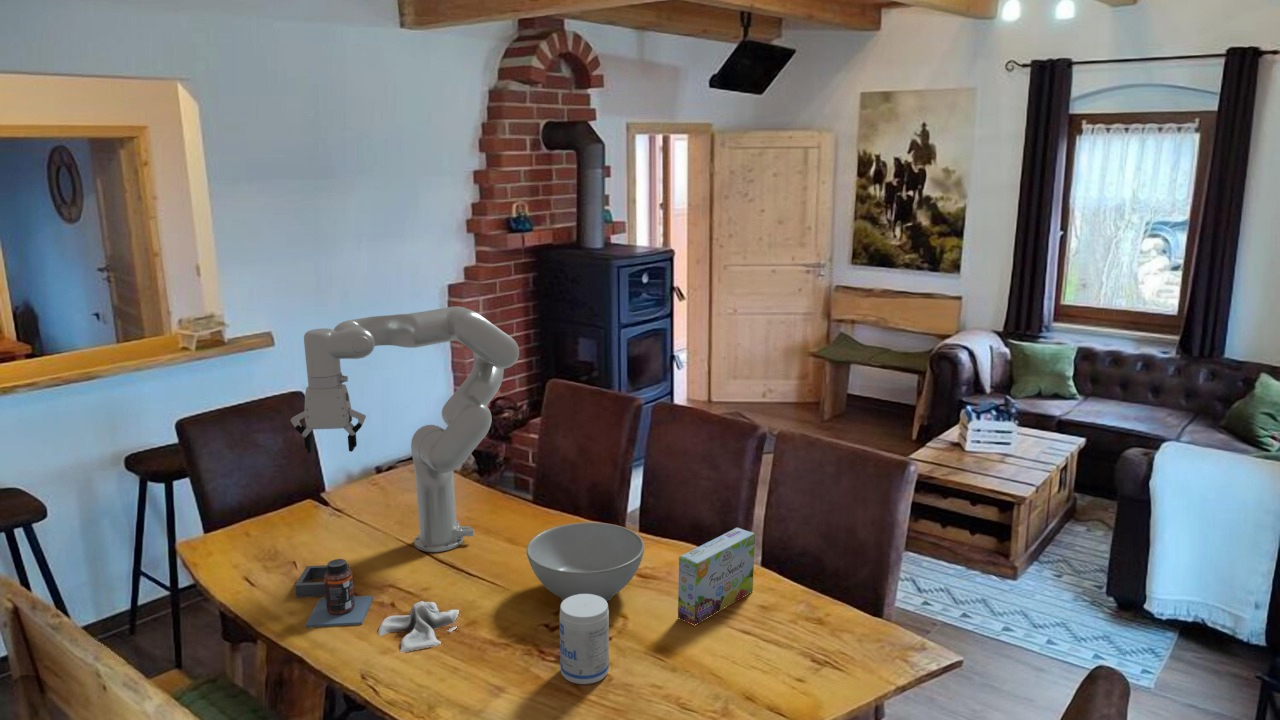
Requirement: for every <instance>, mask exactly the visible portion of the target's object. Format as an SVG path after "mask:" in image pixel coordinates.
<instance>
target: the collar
mask: <svg viewBox="0 0 1280 720" xmlns="http://www.w3.org/2000/svg"><path fill="white" fill-rule="evenodd" d="M347 568H349V569H350V570H351V568H350V563H347ZM327 571H328V565H327V564H324V565H306V566H305V567H304V569H303V571H302V572H301V575H300V577H299V578H298V580H297V581H296V583H295V584H294V591H295V592H294V593H295V599H297V598H311V597H312V598H313V597H314V598H316V597H326V594H325V584H324V581H318V582H317V581H314V582H311V581H312V580H324V575H325V573H326V572H327Z"/></svg>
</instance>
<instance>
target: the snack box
mask: <svg viewBox="0 0 1280 720" xmlns="http://www.w3.org/2000/svg"><path fill="white" fill-rule="evenodd" d="M755 536H756V533H755V532H752V531H749V530H745V529H743V528H740V527H735V528H733V529H732V530H729V531H727V532H725V533H723V534H722V535H720V536H718V537H715V538H713V539H712V540H710V541H707V542H705V543H703V544H702V545H699V546H698V547H696V548H693V549H692V550H689V551H688V552H685V553H684V554H681V555H680V556H678V591H677V593H678V594H677V595H678V596H677V597H678V598H677V599H678V600H677V602H678V603H677V619H679V618H680V619H679V620H681V619H682V621H683V620H685V621H684V622H686V621H687V622H686V623H688V622H689V623H692V624H694V625H695V624H697V623H699V622H701V621H702V620H704V619H706V618H707V617H709V616H711V615H713V614H714V613H716V612H717V611H719V610H721V609H723V608H724V607H726V606H728V605H729V604H731V605H733V604H734V603H733V602H735V601H737V600H738V599H740V598H742V597H743V596H745V595H747V594H748V595H750V594H751V593H750V592H752V591H754V565H755V543H756V541H755V540H756V537H755ZM749 593H750V594H749ZM752 593H753V592H752ZM748 595H747V596H748ZM745 597H746V596H745ZM743 598H744V597H743ZM743 598H742V599H743ZM740 600H741V599H740ZM738 601H739V600H738ZM738 601H737V602H738ZM732 603H733V604H732ZM735 603H736V602H735ZM728 607H729V606H728ZM726 608H727V607H726ZM723 610H724V609H723ZM721 611H722V610H721ZM719 612H720V611H719ZM716 614H717V613H716ZM714 615H715V614H714ZM714 615H713V616H714ZM711 617H712V616H711ZM709 618H710V617H709ZM706 620H707V619H706ZM704 621H705V620H704ZM702 622H703V621H702ZM702 622H701V623H702ZM689 623H688V624H689ZM699 624H700V623H699ZM694 625H693V626H694Z"/></svg>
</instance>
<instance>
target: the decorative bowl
mask: <svg viewBox="0 0 1280 720" xmlns="http://www.w3.org/2000/svg"><path fill="white" fill-rule="evenodd" d="M644 552H645V542H644V539H643V538H642V537H641V536H640V535H639V534H638V533H636V532H635V531H633V530H631V529H629V528H627V527H624V526H621V525H617V524H612V523H605V522H594V521H593V522H592V521H591V522H590V521H589V522H586V521H585V522H575V523H573V522H572V523H569V524H562V525H560V526H554V527H552V528H549V529H546V530H544V531H541V532H539V533H538V534H536V535H535V536H534V537H533V538H532V539H531V540H530V541H529V542H528V545H526V555H527V556H526V557H527V560H528V562H529V565H530V567H531V569H532V571H533V573H534V575H535V576H536V578H537V580H539V582H540V583H541V584H542V585H543V586H544V587H545V588H546V589H547V590H548V591H549V592H550V593H552V594H554V595H555V596H557V597H560V598H561V601H562V602H563V601H564V600H565V599H566V598H568V597H570V596H573V595H578V594H593V595H597V596H600V597H602V598H603V599H605V600H606V601H608V600H609V601H611V600H612V598H613V597H612V596H614V595H616V594H618V593H619V592H620V591H622V590H623V589H624V588H625V587H626V586H627V585H628V584H629V583H630V582H631V580H632V579H633V578H634V576H635V574H636V573H637V571H638V569H639V567H640V565H641V562H642V559H643V556H644V554H645V553H644ZM611 597H612V598H611ZM609 601H608V602H609Z"/></svg>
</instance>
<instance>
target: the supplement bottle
mask: <svg viewBox="0 0 1280 720" xmlns="http://www.w3.org/2000/svg"><path fill="white" fill-rule="evenodd" d="M347 564H348V562H347V560H346V559H344V558H336V559H331V560H330V561H328V563H327V564H326V565H328V571H327V572H326V573H325V575H324V579H323V582H324V584H325V594H326V596H325V598H326V604H327V611H328V612H329V613H331V614H335V615H336V614H344V613H348V612H350V611H351V610H352V609H353V608H354V606H355V604H354V603H355V601H354V596H355V593H354V592H355V591H354V582H353V581H354V580H353V573H352V570H351V568H350V567H349V568H350V569H349V568H347Z"/></svg>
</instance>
